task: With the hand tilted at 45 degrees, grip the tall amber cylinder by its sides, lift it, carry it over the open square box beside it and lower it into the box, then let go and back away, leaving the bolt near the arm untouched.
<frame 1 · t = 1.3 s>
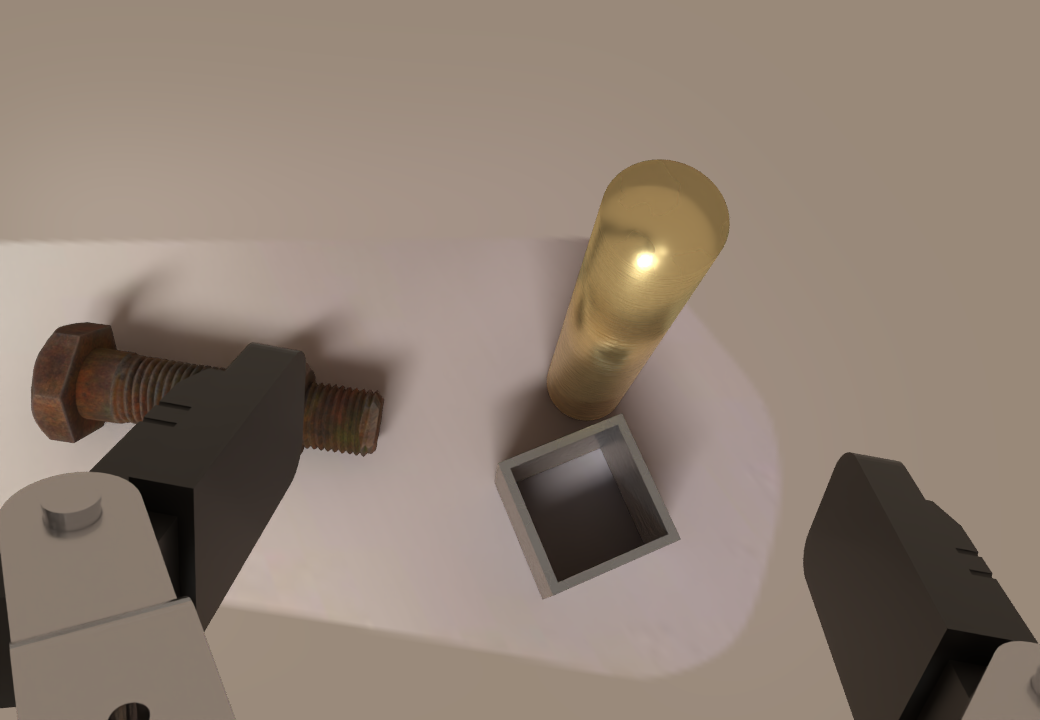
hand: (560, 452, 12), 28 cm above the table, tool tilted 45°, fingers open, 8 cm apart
bolt: (234, 417, 41), on the table
tall amber cylinder: (585, 383, 42), on the table
open square box: (574, 515, 40), on the table
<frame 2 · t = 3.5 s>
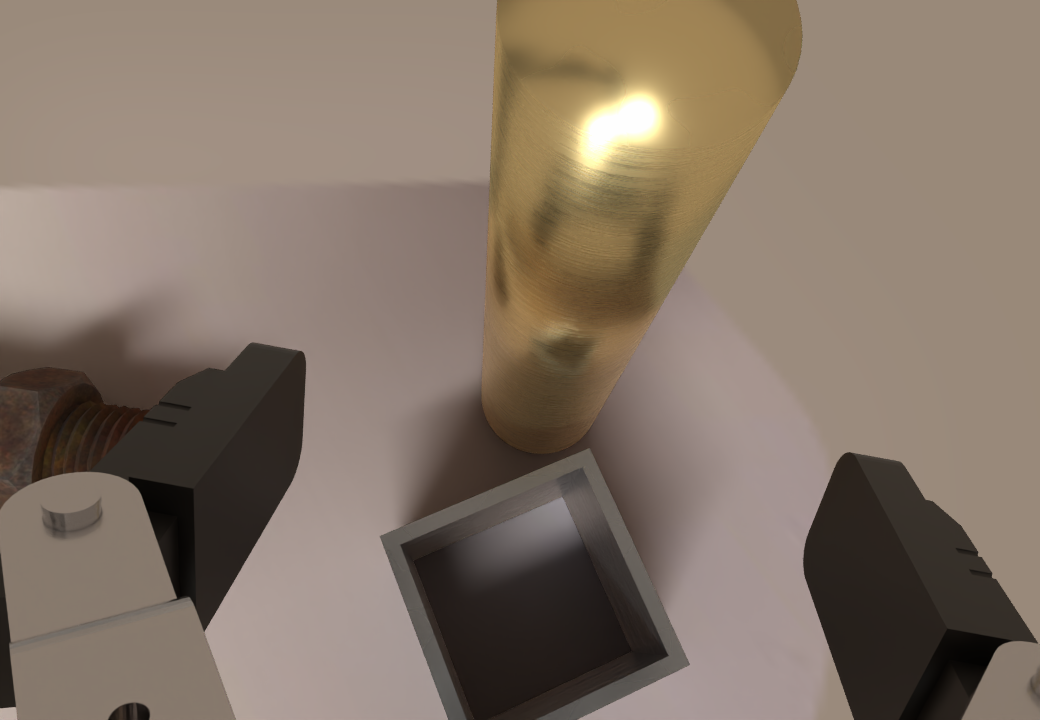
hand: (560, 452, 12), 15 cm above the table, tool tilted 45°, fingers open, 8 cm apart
tall amber cylinder: (540, 395, 28), on the table
open square box: (521, 605, 25), on the table
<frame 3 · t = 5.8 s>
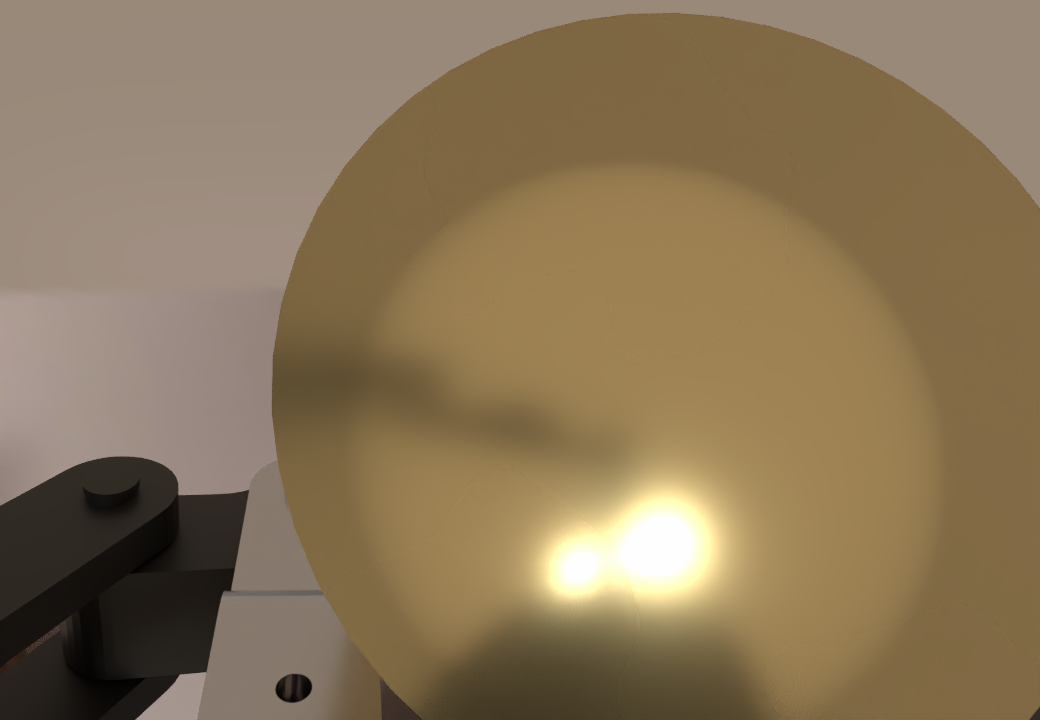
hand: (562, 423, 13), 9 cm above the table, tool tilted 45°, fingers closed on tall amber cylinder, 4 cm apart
tall amber cylinder: (514, 581, 21), on the table, touching gripper
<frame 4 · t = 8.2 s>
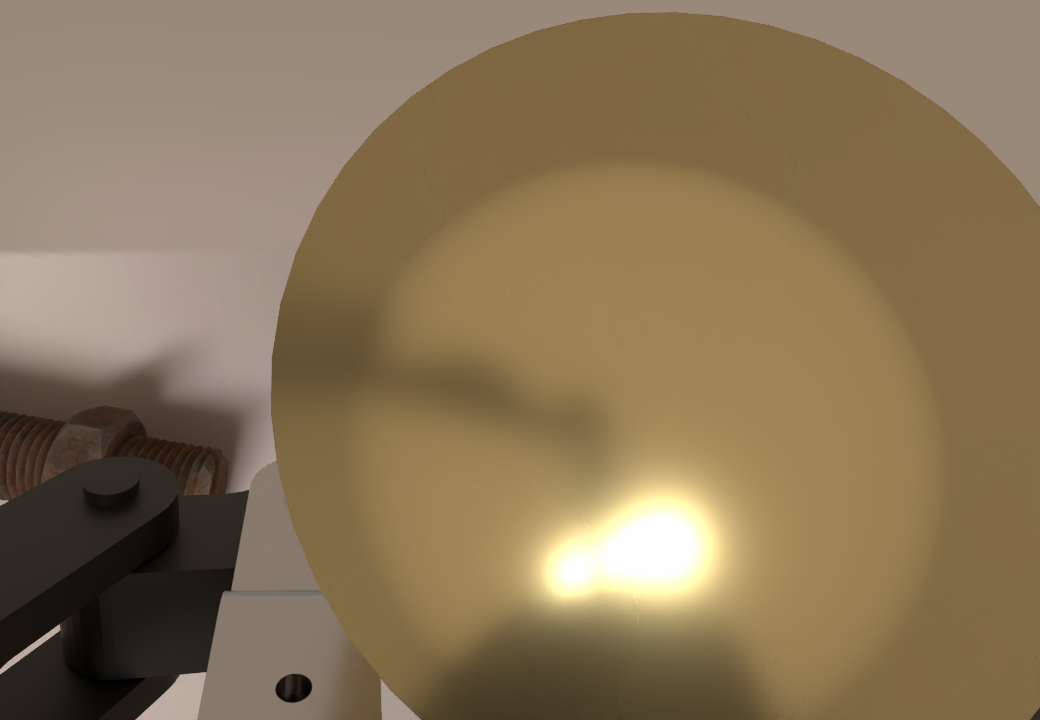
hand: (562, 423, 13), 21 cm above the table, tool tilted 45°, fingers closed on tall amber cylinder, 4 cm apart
bolt: (48, 472, 33), on the table
tall amber cylinder: (515, 581, 21), point 12 cm above the table, touching gripper
when the fingers open (9 cm above the table, at t = 11.0 s): tall amber cylinder stays where it is, resting in open square box.
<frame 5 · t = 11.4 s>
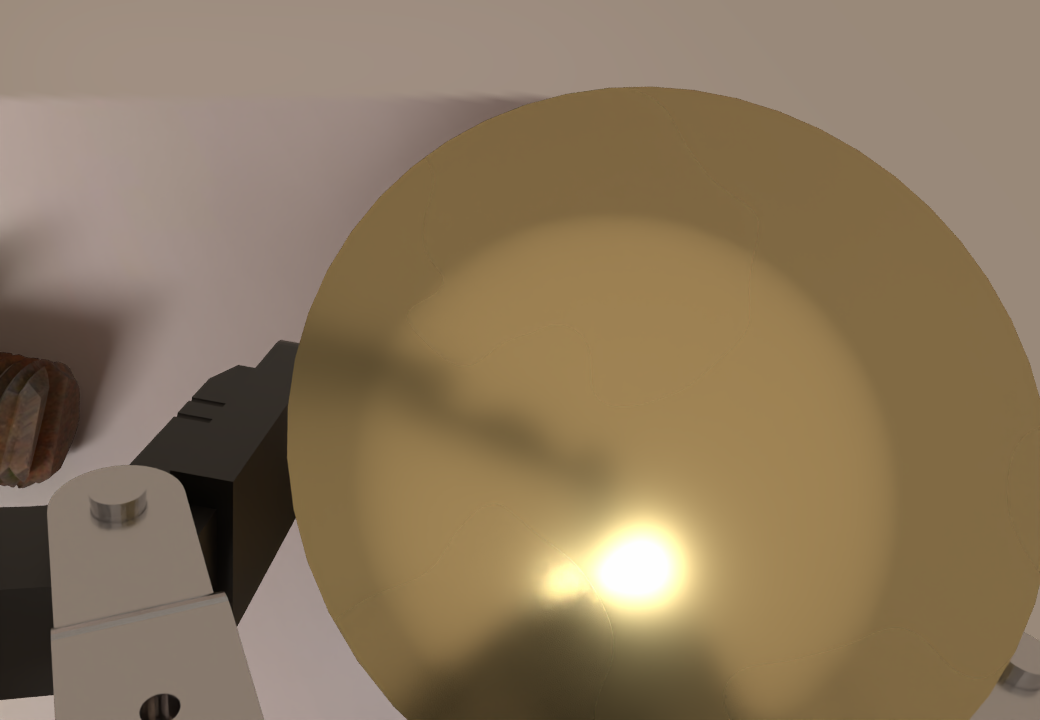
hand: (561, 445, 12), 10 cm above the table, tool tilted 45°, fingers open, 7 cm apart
tall amber cylinder: (511, 587, 21), resting in open square box
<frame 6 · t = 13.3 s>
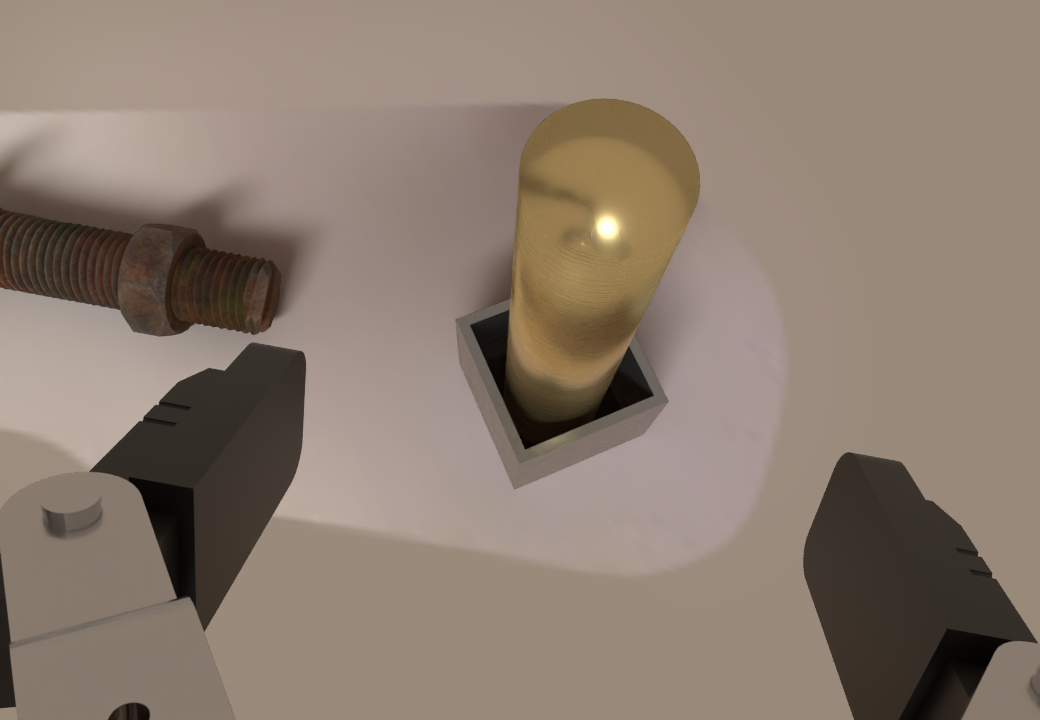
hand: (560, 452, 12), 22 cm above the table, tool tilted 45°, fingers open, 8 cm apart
bolt: (118, 293, 36), on the table
tall amber cylinder: (549, 400, 35), resting in open square box
open square box: (550, 398, 35), on the table
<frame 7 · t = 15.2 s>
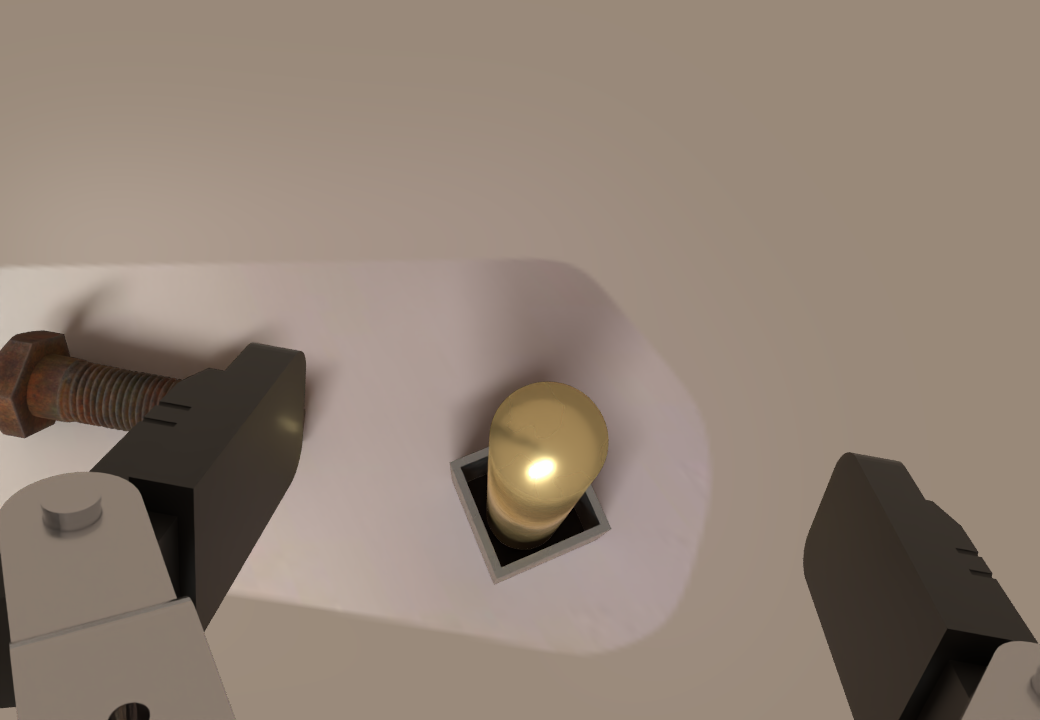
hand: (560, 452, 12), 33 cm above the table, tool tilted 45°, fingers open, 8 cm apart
bolt: (173, 419, 45), on the table
tall amber cylinder: (523, 512, 44), resting in open square box
open square box: (523, 509, 44), on the table
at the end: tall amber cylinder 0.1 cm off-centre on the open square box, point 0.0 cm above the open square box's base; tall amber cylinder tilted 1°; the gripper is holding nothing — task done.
